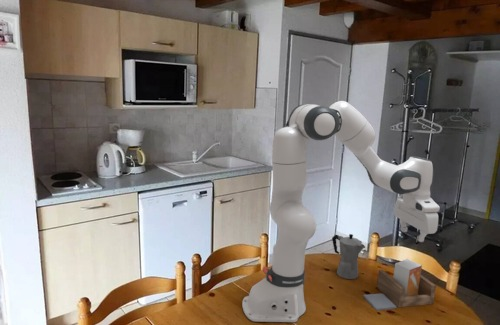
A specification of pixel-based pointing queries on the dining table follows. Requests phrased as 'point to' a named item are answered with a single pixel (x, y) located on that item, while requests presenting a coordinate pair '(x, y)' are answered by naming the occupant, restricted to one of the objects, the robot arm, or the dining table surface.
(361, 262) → the dining table surface
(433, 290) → the open wooden box
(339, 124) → the robot arm
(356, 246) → the coffeepot
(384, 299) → the mat
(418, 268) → the small box
